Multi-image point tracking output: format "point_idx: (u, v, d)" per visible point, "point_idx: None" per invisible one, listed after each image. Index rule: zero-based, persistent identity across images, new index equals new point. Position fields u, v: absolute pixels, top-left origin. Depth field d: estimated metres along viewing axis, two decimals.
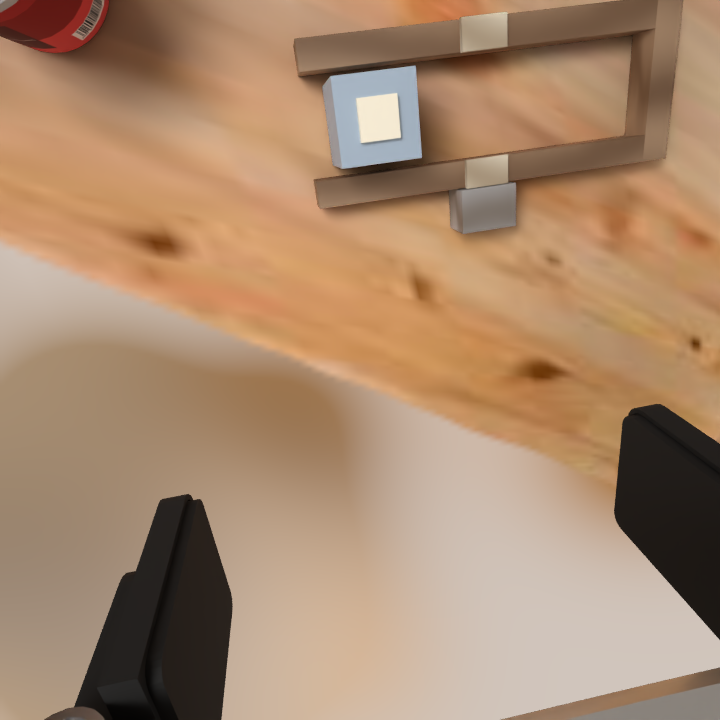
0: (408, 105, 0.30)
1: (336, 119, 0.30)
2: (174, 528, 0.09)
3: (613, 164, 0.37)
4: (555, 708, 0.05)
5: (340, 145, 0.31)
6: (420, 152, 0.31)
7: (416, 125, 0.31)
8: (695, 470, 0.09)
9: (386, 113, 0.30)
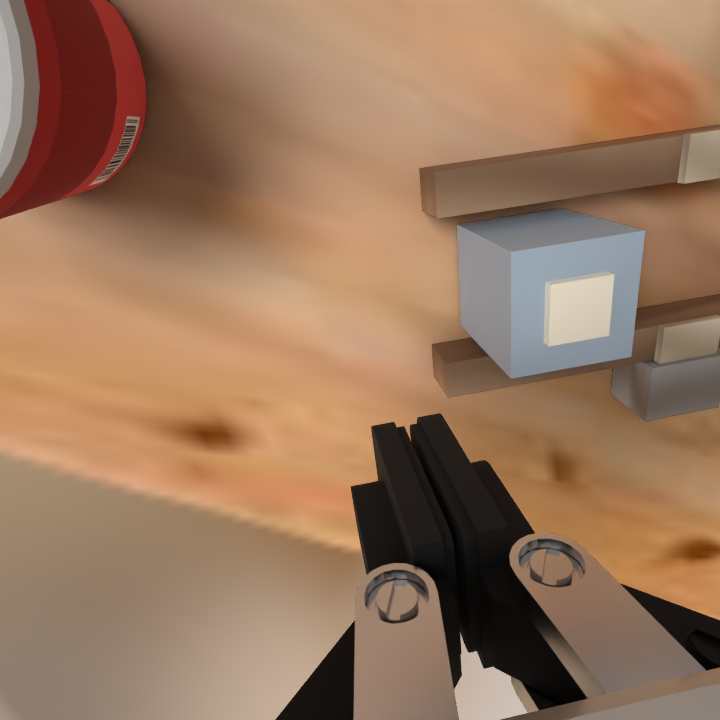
0: (623, 287, 0.19)
1: (511, 311, 0.19)
2: (399, 445, 0.11)
3: None
4: (555, 708, 0.05)
5: (512, 347, 0.19)
6: (630, 349, 0.20)
7: (630, 314, 0.20)
8: (434, 476, 0.10)
9: (593, 303, 0.19)
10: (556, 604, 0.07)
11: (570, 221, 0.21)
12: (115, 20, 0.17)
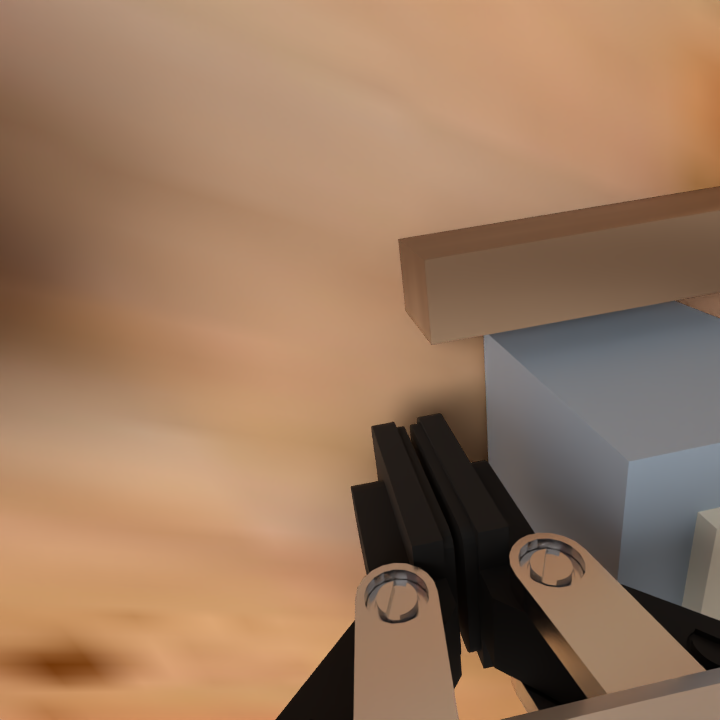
0: None
1: (618, 569, 0.09)
2: (399, 445, 0.11)
3: None
4: (555, 708, 0.05)
5: None
6: None
7: None
8: (434, 476, 0.10)
9: None
10: (556, 604, 0.07)
11: (709, 343, 0.11)
12: None
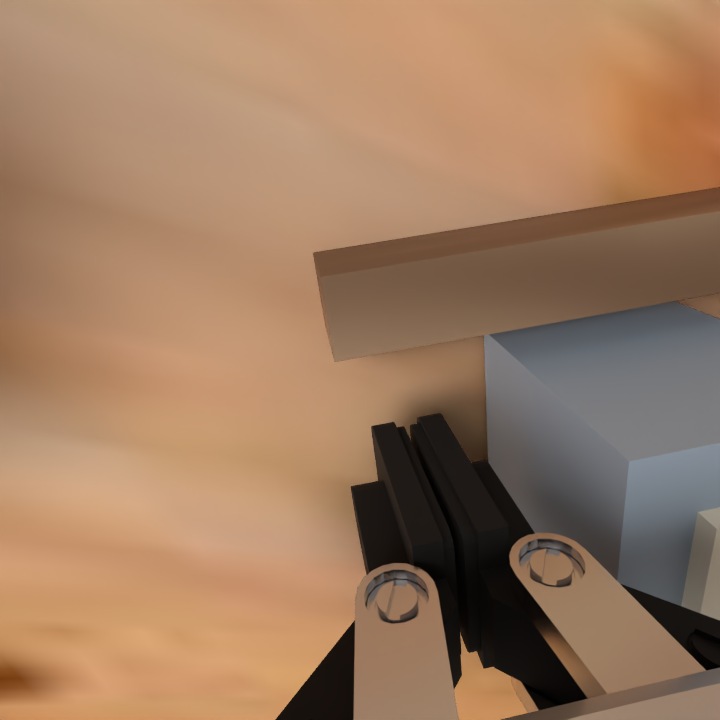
0: None
1: (618, 569, 0.09)
2: (399, 445, 0.11)
3: None
4: (555, 708, 0.05)
5: None
6: None
7: None
8: (434, 476, 0.10)
9: None
10: (556, 604, 0.07)
11: (709, 343, 0.11)
12: None
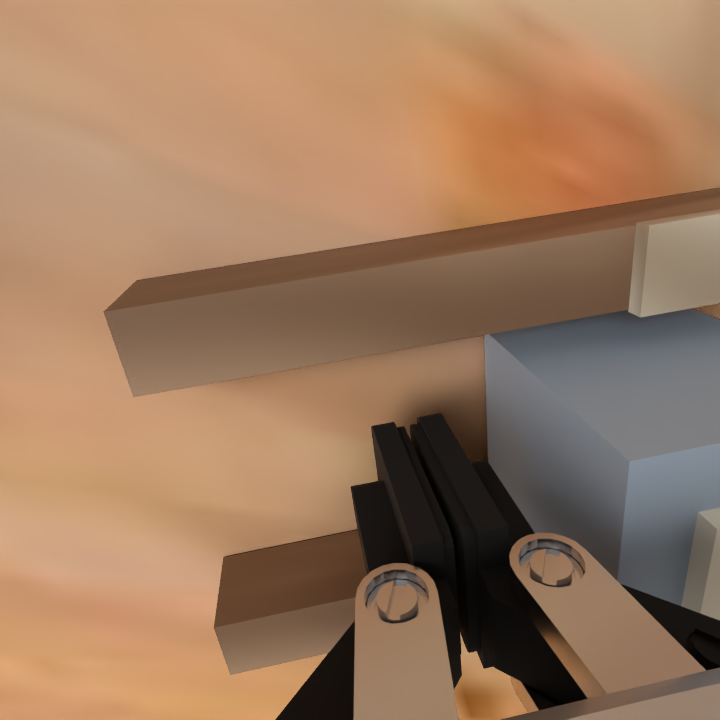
0: None
1: (618, 569, 0.09)
2: (399, 445, 0.11)
3: None
4: (555, 708, 0.05)
5: None
6: None
7: None
8: (434, 476, 0.10)
9: None
10: (556, 604, 0.07)
11: (709, 344, 0.11)
12: None
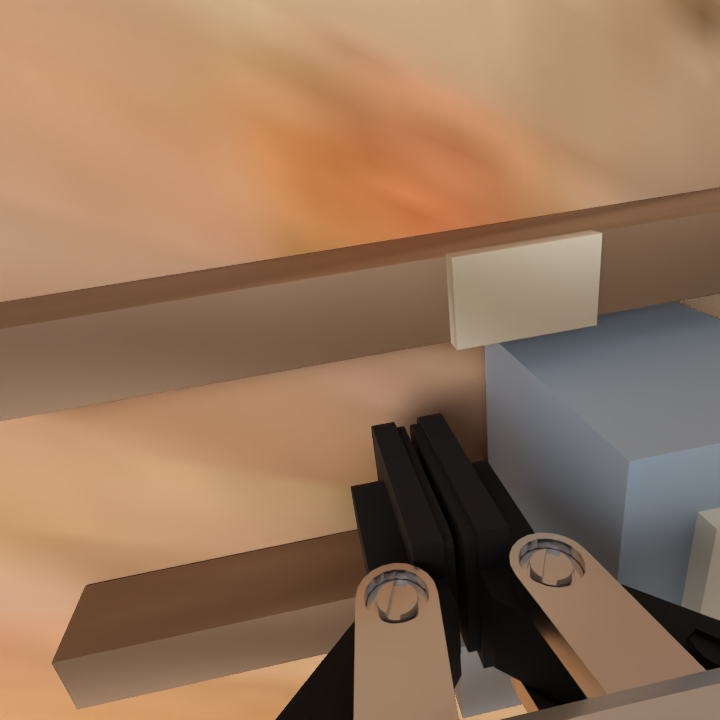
0: None
1: (618, 568, 0.09)
2: (399, 445, 0.11)
3: None
4: (555, 708, 0.05)
5: None
6: None
7: None
8: (434, 476, 0.10)
9: None
10: (556, 604, 0.07)
11: (709, 343, 0.11)
12: None
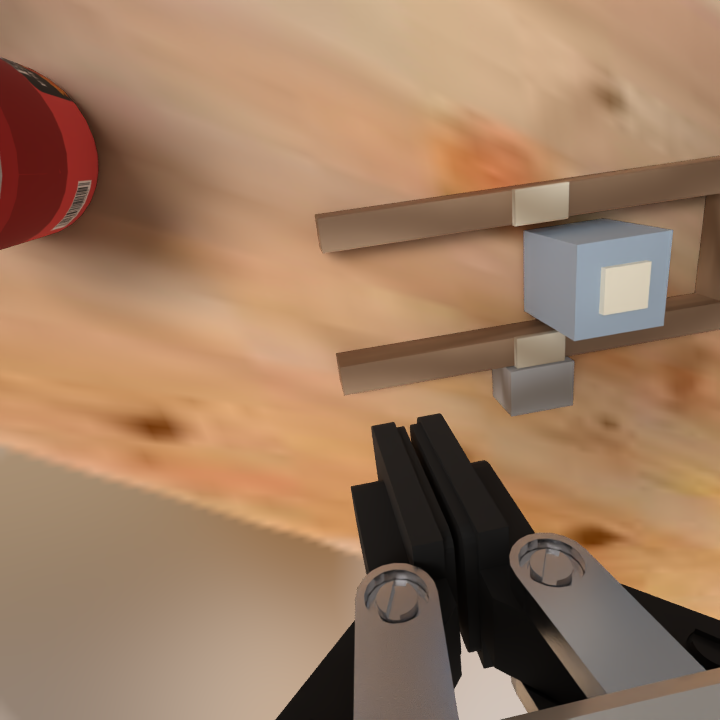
0: (657, 271, 0.26)
1: (576, 289, 0.26)
2: (399, 445, 0.11)
3: (686, 333, 0.32)
4: (555, 708, 0.05)
5: (576, 316, 0.26)
6: (662, 320, 0.27)
7: (663, 292, 0.26)
8: (434, 476, 0.10)
9: (636, 283, 0.26)
10: (556, 604, 0.07)
11: (614, 226, 0.28)
12: (71, 114, 0.23)
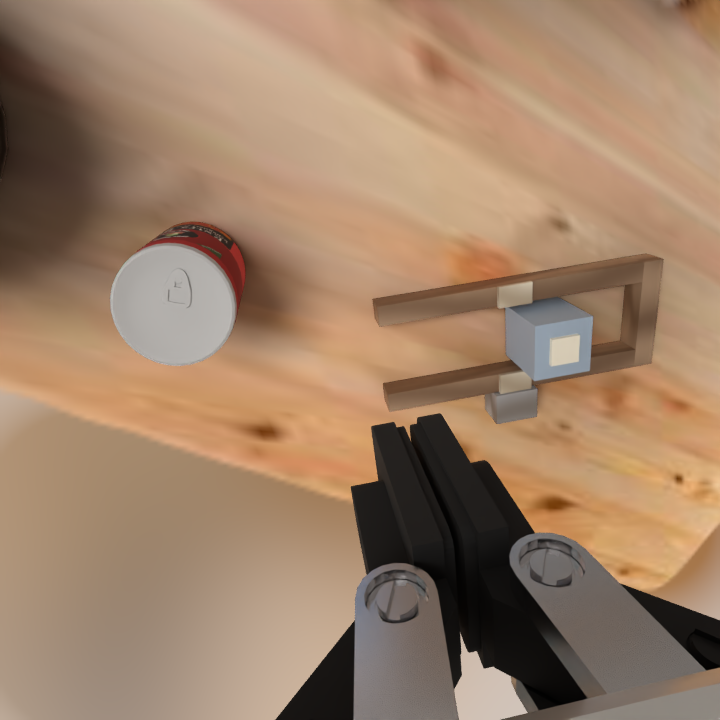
0: (584, 340, 0.43)
1: (534, 351, 0.42)
2: (399, 445, 0.11)
3: (611, 369, 0.49)
4: (555, 708, 0.05)
5: (535, 366, 0.43)
6: (589, 367, 0.44)
7: (588, 351, 0.43)
8: (434, 476, 0.10)
9: (571, 347, 0.42)
10: (556, 604, 0.07)
11: (561, 307, 0.45)
12: (238, 254, 0.40)
